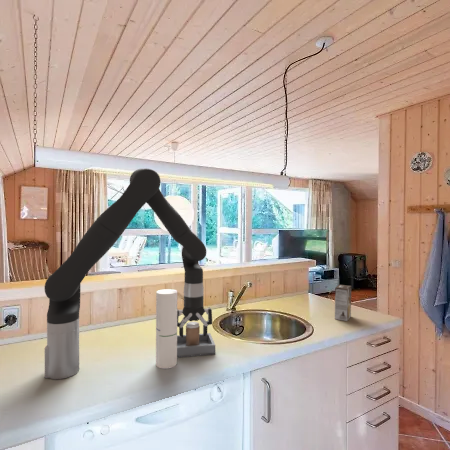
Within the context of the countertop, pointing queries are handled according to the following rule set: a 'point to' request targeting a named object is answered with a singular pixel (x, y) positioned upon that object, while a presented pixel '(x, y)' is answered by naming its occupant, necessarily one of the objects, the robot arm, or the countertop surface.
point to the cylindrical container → (166, 328)
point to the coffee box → (343, 302)
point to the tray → (198, 350)
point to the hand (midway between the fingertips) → (193, 336)
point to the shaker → (192, 334)
